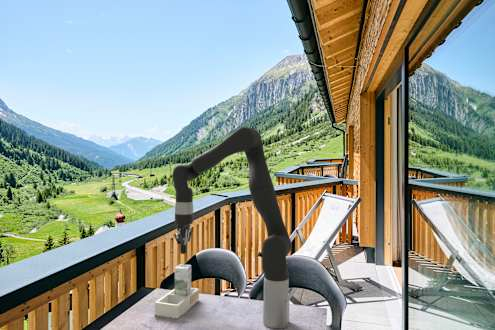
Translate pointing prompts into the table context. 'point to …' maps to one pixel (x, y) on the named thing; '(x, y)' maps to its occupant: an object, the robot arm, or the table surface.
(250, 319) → the table surface
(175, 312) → the box
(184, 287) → the syrup box
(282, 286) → the robot arm
